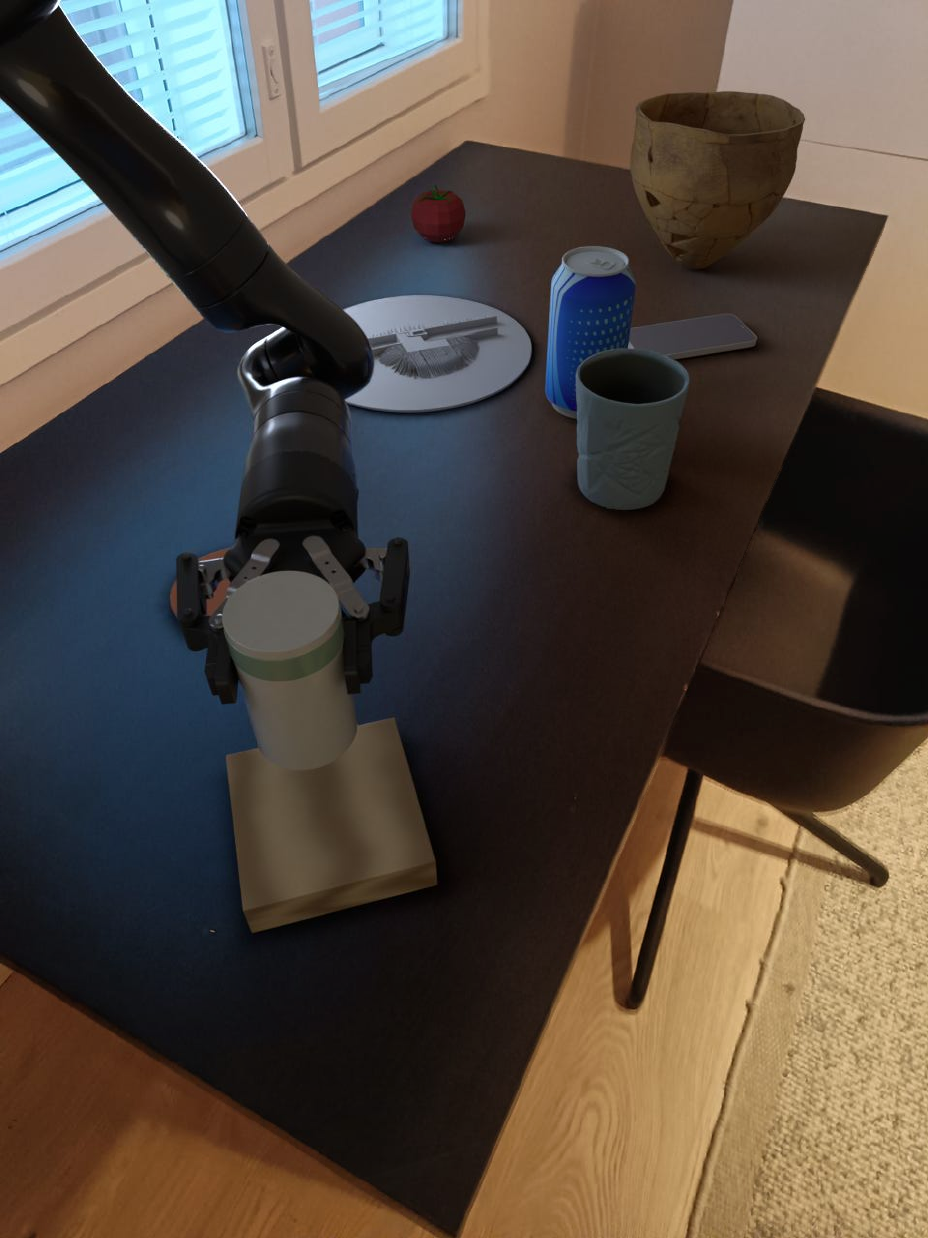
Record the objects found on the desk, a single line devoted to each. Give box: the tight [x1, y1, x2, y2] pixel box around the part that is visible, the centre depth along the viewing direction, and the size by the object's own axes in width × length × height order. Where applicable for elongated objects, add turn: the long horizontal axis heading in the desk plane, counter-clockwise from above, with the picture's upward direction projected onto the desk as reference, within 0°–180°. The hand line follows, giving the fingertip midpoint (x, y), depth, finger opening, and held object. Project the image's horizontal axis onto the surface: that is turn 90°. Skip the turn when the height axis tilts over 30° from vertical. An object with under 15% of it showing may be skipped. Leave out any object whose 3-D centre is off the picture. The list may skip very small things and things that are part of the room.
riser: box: [225, 717, 438, 934], centre depth 60 cm, size 12×12×3 cm
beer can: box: [544, 245, 637, 420], centre depth 93 cm, size 8×8×16 cm
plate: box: [343, 294, 532, 413], centre depth 108 cm, size 28×28×1 cm
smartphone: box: [628, 313, 758, 360], centre depth 108 cm, size 7×1×15 cm
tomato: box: [410, 184, 467, 243], centre depth 128 cm, size 8×8×8 cm
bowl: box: [629, 90, 806, 271], centre depth 116 cm, size 21×20×20 cm
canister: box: [222, 571, 358, 770], centre depth 50 cm, size 6×6×10 cm
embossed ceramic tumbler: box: [576, 348, 691, 511], centre depth 84 cm, size 10×10×12 cm
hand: (289, 688), depth 47 cm, fingers closed on canister, 6 cm apart
